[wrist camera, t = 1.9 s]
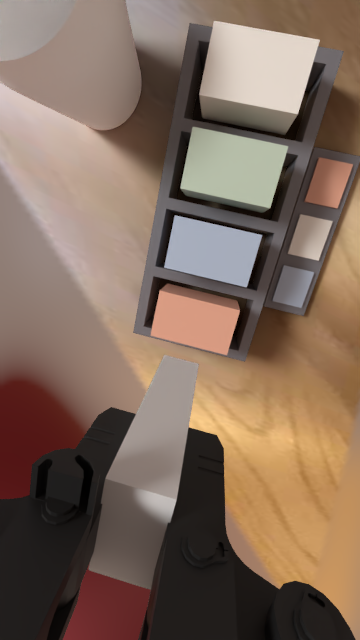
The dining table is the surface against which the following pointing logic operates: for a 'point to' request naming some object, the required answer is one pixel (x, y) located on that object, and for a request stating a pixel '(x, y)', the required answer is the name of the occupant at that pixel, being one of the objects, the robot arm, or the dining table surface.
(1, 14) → the cup
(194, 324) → the key terracotta
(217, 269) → the key slate
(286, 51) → the key ivory
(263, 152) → the key sage
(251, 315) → the keypad
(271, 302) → the strip
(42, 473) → the robot arm
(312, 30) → the dining table surface
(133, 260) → the dining table surface
